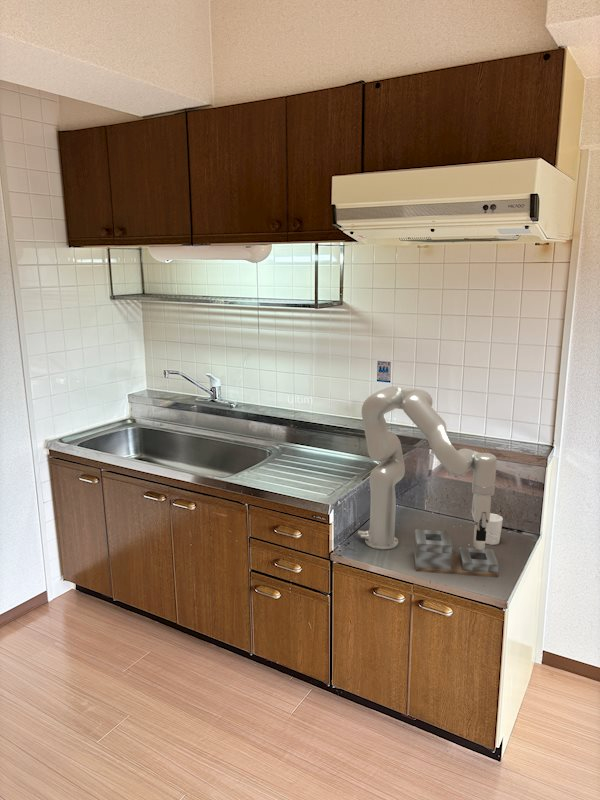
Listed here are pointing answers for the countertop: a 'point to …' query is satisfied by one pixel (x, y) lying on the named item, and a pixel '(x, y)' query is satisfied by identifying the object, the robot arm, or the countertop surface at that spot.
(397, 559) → the countertop surface
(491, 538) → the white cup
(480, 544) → the peg
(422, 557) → the socket board
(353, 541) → the countertop surface
